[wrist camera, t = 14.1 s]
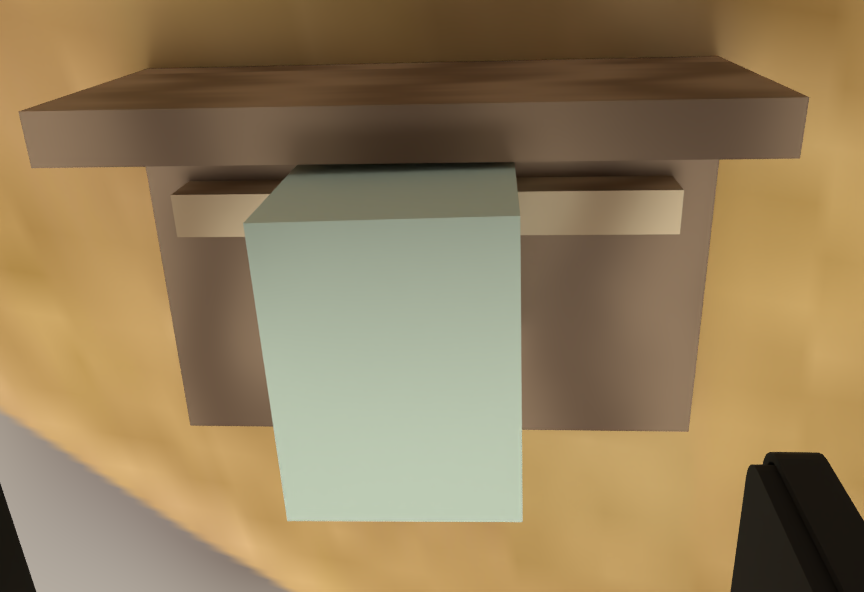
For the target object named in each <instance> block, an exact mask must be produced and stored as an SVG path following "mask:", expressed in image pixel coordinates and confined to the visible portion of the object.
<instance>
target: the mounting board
mask: <svg viewBox="0 0 864 592" xmlns="http://www.w3.org/2000/svg"><path fill="white" fill-rule="evenodd" d="M808 102H809V97H807V96H805V95H803V94H801V93H799V92H796V91H794V90H792V89H790V88H788V87H785V86H783V85H781V84H779V83H776V82H774V81H772V80H770V79H768V78H765V77H763V76H761V75H759V74H757V73H754V72H752V71H750V70H748V69H745V68H743V67H741V66H739V65H737V64H734V63H732V62H730V61H728V60H726V59H723V58H721V57H719V56H702V57H656V58H611V59H565V60H519V61H474V62H428V63H383V64H337V65H292V66H246V67H200V68H155V69H145V70H142V71H139V72H136V73H133V74H130V75H127V76H124V77H121V78H118V79H115V80H112V81H109V82H106V83H103V84H100V85H97V86H94V87H91V88H88V89H85V90H82V91H79V92H76V93H73V94H70V95H67V96H64V97H61V98H58V99H55V100H52V101H49V102H46V103H43V104H40V105H37V106H34V107H31V108H28V109H25V110H22V111H19V116H20V120H21V125H22V129H23V133H24V138H25V142H26V146H27V151H28V155H29V159H30V164H31V168H73V167H146V171H147V176H148V182H149V188H150V194H151V200H152V205H153V211H154V217H155V223H156V229H157V234H158V240H159V246H160V252H161V258H162V263H163V269H164V275H165V281H166V286H167V292H168V298H169V304H170V310H171V315H172V321H173V327H174V333H175V339H176V344H177V350H178V356H179V362H180V368H181V373H182V379H183V385H184V391H185V397H186V402H187V408H188V414H189V420H190V425H196V426H273V421H272V414H271V408H270V401H269V394H268V387H267V381H266V374H265V367H264V361H263V354H262V347H261V340H260V334H259V327H258V320H257V314H256V307H255V300H254V293H253V287H252V280H251V273H250V267H249V260H248V253H247V247H246V240H245V233H244V226H243V223H244V222H245V221H246V220H247V219H248V217H249V216H250V215H251V214H252V213H253V212H254V211H255V210H256V209H257V208H258V207H259V206H260V204H261V203H262V202H263V201H264V200H265V199H266V198H267V197H268V196H269V195H270V194H271V193H272V191H273V190H274V189H275V188H276V187H277V186H278V185H279V184H280V183H281V182H282V181H283V180H284V178H285V177H286V176H287V175H288V174H289V173H290V172H291V171H292V170H293V169H294V168H295V167H296V165H313V164H393V163H473V162H514V163H515V172H516V181H517V190H518V199H519V209H520V245H521V383H522V430H600V431H681V432H688V431H689V422H690V413H691V404H692V396H693V387H694V378H695V369H696V360H697V351H698V342H699V334H700V325H701V316H702V307H703V298H704V289H705V281H706V272H707V263H708V254H709V245H710V236H711V227H712V219H713V210H714V201H715V192H716V183H717V174H718V165H719V159H792V158H800V155H801V148H802V142H803V135H804V128H805V122H806V115H807V109H808Z"/></svg>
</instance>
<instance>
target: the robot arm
mask: <svg viewBox="0 0 864 592" xmlns="http://www.w3.org/2000/svg"><path fill="white" fill-rule="evenodd" d="M0 592H36V590H35V587H34V584H33V581H32V578H31V575H30V572H29V569H28V566H27V563H26V560H25V557H24V554H23V550H22V547H21V545H20V541H19V538H18V536H17V532H16V529H15V526H14V524H13V520H12V518H11V514H10V511H9V509H8V505H7V502H6V499H5V496H4V493H3V490H2V487H1V484H0ZM731 592H864V521H863V519H862V517H861V516H860V514H859V512H858V511H857V509H856V507H855V506H854V504H853V502H852V501H851V499H850V497H849V496H848V494H847V492H846V491H845V489H844V487H843V486H842V484H841V482H840V481H839V479H838V477H837V476H836V474H835V472H834V471H833V469H832V467H831V466H830V464H829V462H828V461H827V459H826V458H825V457H824V455H823V454H820V453H806V452H769V453H768V454H766V456H765V458H764V461H763V465H750V466H749V468H748V470H747V475H746V482H745V490H744V497H743V504H742V512H741V519H740V526H739V534H738V541H737V548H736V556H735V563H734V570H733V578H732V585H731Z"/></svg>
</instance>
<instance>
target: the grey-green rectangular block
mask: <svg viewBox="0 0 864 592" xmlns="http://www.w3.org/2000/svg"><path fill="white" fill-rule="evenodd" d="M243 226H244V233H245V240H246V247H247V253H248V260H249V267H250V273H251V280H252V287H253V293H254V300H255V307H256V314H257V320H258V327H259V334H260V340H261V347H262V354H263V361H264V367H265V374H266V381H267V387H268V394H269V401H270V408H271V414H272V421H273V428H274V434H275V441H276V448H277V454H278V461H279V468H280V475H281V481H282V488H283V495H284V501H285V508H286V515H287V521H414V522H523V521H522V383H521V245H520V209H519V199H518V190H517V181H516V172H515V163H514V162H473V163H393V164H313V165H296V167H295V168H294V169H293V170H292V171H291V172H290V173H289V174H288V175H287V176H286V177H285V178H284V180H283V181H282V182H281V183H280V184H279V185H278V186H277V187H276V188H275V189H274V190H273V191H272V193H271V194H270V195H269V196H268V197H267V198H266V199H265V200H264V201H263V202H262V203H261V204H260V206H259V207H258V208H257V209H256V210H255V211H254V212H253V213H252V214H251V215H250V216H249V217H248V219H247V220H246V221H245V222H244V223H243Z"/></svg>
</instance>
